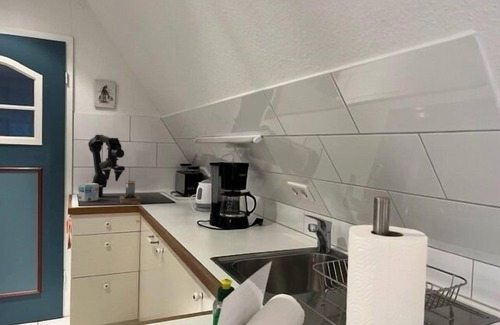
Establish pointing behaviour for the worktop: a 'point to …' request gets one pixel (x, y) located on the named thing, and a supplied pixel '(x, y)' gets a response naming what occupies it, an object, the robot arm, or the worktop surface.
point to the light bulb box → (88, 192)
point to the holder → (130, 200)
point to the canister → (130, 189)
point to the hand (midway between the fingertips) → (111, 180)
